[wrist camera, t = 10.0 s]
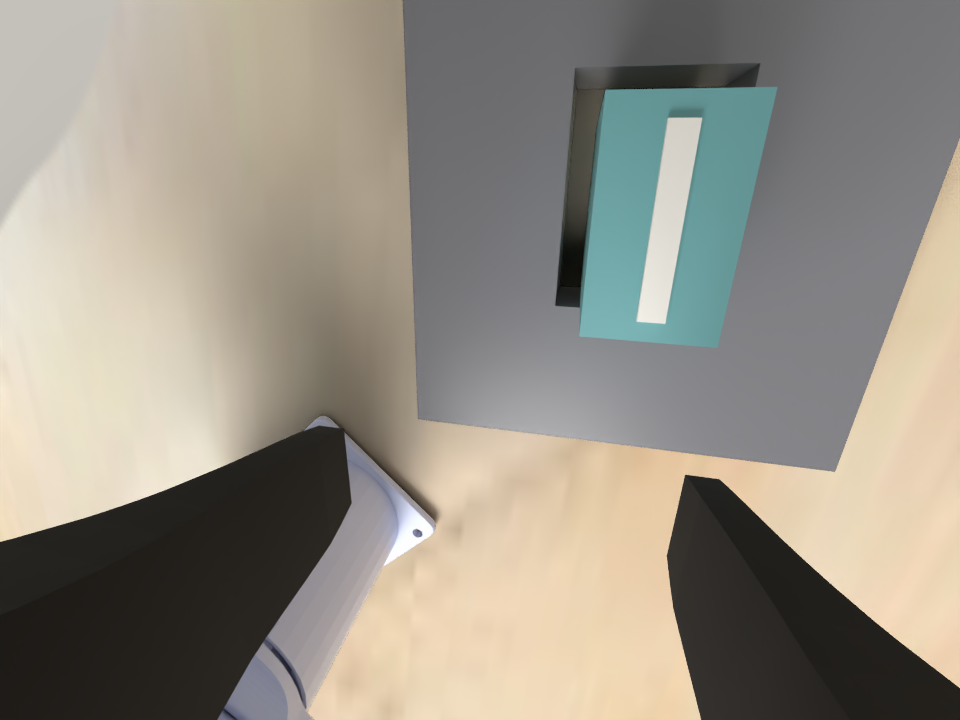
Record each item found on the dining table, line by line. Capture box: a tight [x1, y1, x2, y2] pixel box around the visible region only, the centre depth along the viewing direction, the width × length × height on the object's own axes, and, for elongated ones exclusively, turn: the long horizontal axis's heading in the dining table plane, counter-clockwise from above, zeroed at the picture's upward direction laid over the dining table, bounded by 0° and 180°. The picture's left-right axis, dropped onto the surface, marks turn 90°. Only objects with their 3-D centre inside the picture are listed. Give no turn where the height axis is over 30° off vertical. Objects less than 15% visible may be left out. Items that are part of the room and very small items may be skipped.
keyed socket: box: [403, 0, 960, 472], centre depth 14 cm, size 16×14×3 cm
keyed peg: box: [579, 87, 777, 348], centre depth 12 cm, size 5×3×7 cm, turn 179°
